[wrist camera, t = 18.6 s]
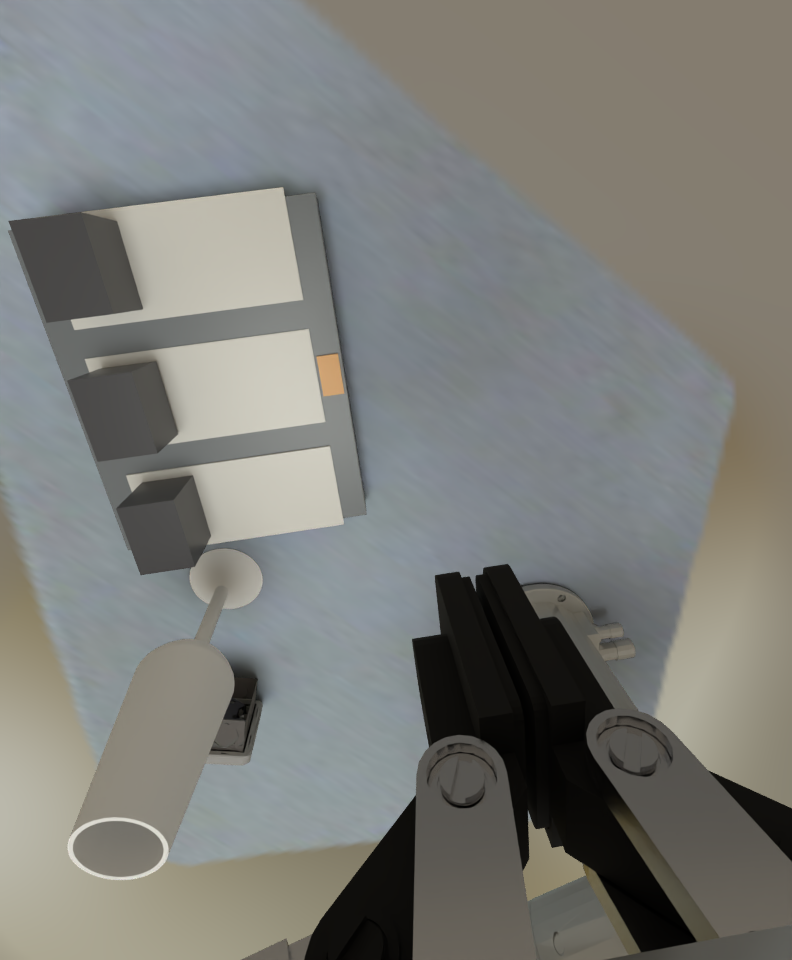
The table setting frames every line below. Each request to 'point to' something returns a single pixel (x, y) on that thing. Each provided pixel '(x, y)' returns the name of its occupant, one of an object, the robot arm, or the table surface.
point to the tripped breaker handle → (124, 410)
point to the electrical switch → (237, 726)
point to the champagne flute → (162, 735)
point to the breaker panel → (208, 362)
